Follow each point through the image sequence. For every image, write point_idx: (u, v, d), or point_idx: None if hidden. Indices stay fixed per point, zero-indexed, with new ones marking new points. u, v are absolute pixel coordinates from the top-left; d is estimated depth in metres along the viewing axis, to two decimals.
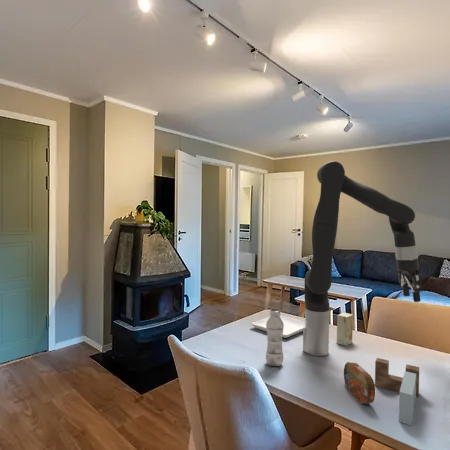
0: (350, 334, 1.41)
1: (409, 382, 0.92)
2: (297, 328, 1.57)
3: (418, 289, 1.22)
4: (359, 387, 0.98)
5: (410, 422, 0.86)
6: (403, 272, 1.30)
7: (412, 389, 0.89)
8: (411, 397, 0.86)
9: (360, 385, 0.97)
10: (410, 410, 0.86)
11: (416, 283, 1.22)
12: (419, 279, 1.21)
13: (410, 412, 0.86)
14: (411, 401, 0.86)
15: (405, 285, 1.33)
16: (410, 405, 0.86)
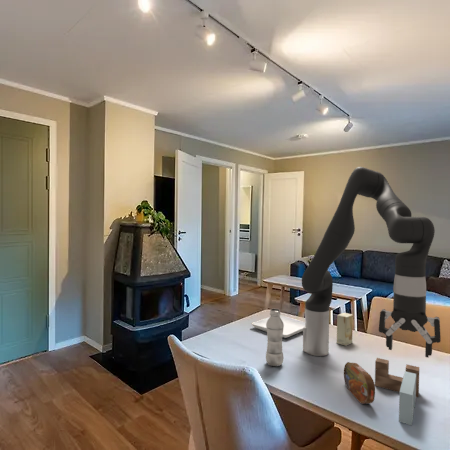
0: (350, 334, 1.41)
1: (409, 382, 0.92)
2: (297, 328, 1.57)
3: None
4: (359, 387, 0.98)
5: (410, 422, 0.86)
6: None
7: (412, 389, 0.89)
8: (411, 397, 0.86)
9: (360, 385, 0.97)
10: (410, 410, 0.86)
11: None
12: None
13: (410, 412, 0.86)
14: (411, 401, 0.86)
15: None
16: (410, 405, 0.86)
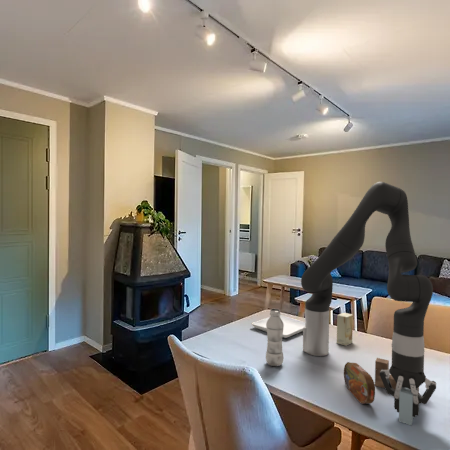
0: (350, 334, 1.41)
1: None
2: (297, 328, 1.57)
3: None
4: (359, 387, 0.98)
5: (410, 422, 0.86)
6: None
7: None
8: (411, 397, 0.86)
9: (360, 385, 0.97)
10: (410, 410, 0.86)
11: None
12: None
13: (410, 412, 0.86)
14: (411, 401, 0.86)
15: None
16: (410, 405, 0.86)
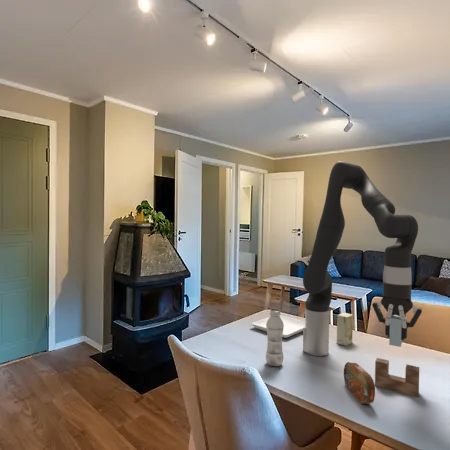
0: (350, 334, 1.41)
1: None
2: (297, 328, 1.57)
3: None
4: (359, 387, 0.98)
5: (399, 344, 0.97)
6: None
7: None
8: (400, 322, 0.97)
9: (360, 385, 0.97)
10: (399, 333, 0.97)
11: None
12: None
13: (399, 335, 0.97)
14: (400, 325, 0.97)
15: None
16: (399, 329, 0.97)
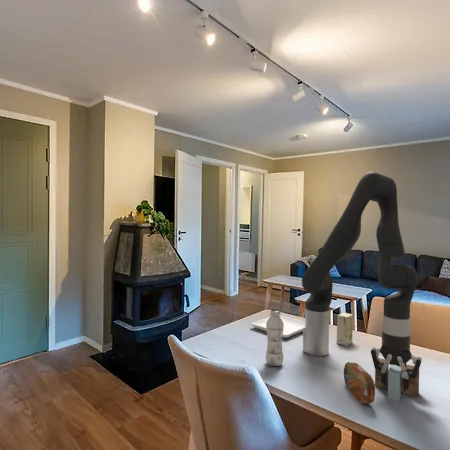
0: (350, 334, 1.41)
1: None
2: (297, 328, 1.57)
3: None
4: (359, 387, 0.98)
5: (397, 398, 0.97)
6: None
7: (399, 369, 1.00)
8: (398, 376, 0.97)
9: (360, 385, 0.97)
10: (397, 387, 0.97)
11: None
12: None
13: (397, 389, 0.97)
14: (398, 379, 0.97)
15: None
16: (397, 383, 0.97)
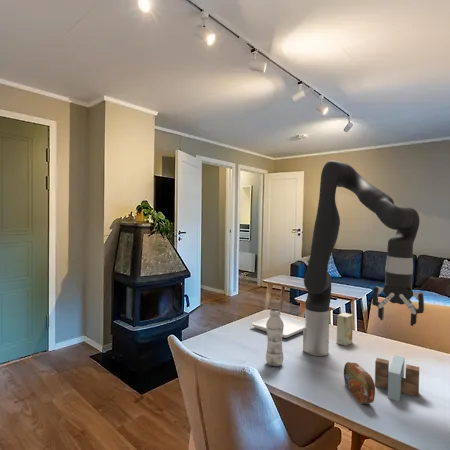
0: (350, 334, 1.41)
1: (397, 364, 1.04)
2: (297, 328, 1.57)
3: None
4: (359, 387, 0.98)
5: (397, 398, 0.97)
6: None
7: (400, 369, 1.00)
8: (398, 376, 0.97)
9: (360, 385, 0.97)
10: (397, 387, 0.97)
11: None
12: None
13: (397, 389, 0.97)
14: (398, 379, 0.97)
15: None
16: (397, 383, 0.97)
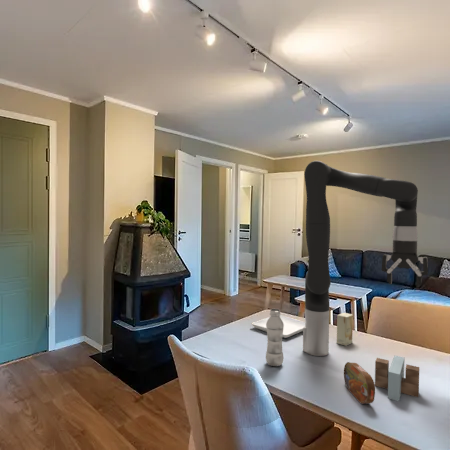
0: (350, 334, 1.41)
1: (397, 364, 1.04)
2: (297, 328, 1.57)
3: None
4: (359, 387, 0.98)
5: (397, 398, 0.97)
6: None
7: (400, 369, 1.00)
8: (398, 376, 0.97)
9: (360, 385, 0.97)
10: (397, 387, 0.97)
11: None
12: None
13: (397, 389, 0.97)
14: (398, 379, 0.97)
15: None
16: (397, 383, 0.97)
